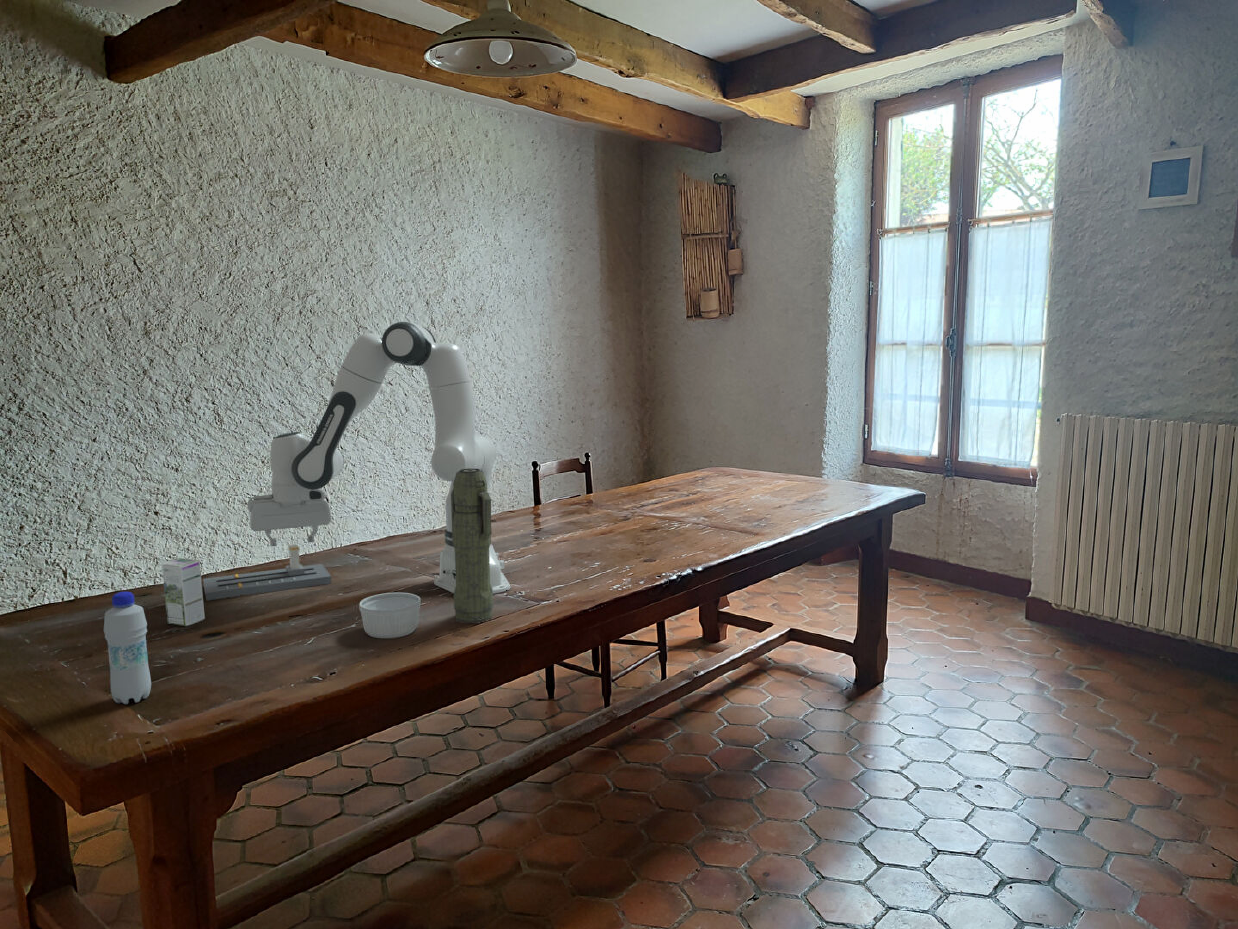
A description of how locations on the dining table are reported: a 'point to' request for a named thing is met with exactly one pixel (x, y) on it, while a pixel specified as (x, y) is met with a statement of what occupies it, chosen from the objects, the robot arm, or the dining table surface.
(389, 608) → the ramekin
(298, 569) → the fader
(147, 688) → the bottle
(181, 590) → the syrup box
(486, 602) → the thermos
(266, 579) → the console
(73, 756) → the dining table surface
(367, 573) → the dining table surface
